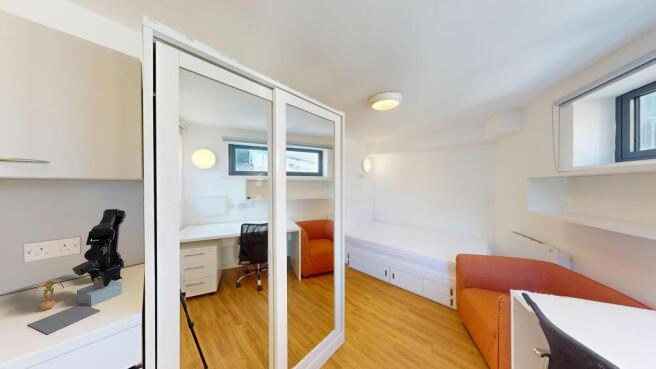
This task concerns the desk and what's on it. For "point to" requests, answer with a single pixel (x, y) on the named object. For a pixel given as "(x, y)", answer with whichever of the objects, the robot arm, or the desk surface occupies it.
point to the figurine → (50, 302)
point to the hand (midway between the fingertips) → (100, 284)
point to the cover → (98, 292)
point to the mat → (63, 318)
